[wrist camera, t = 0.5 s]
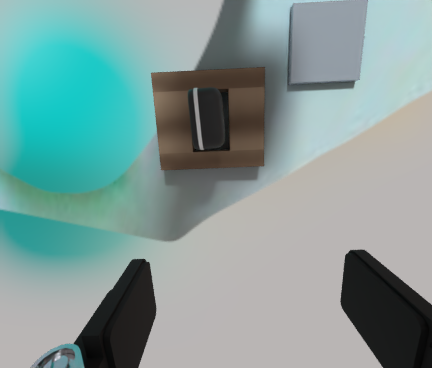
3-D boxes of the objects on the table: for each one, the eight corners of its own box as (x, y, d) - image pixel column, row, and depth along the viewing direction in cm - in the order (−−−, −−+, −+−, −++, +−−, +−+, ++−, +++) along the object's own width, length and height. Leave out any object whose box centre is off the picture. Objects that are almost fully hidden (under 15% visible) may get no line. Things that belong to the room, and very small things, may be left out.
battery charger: (224, 143, 35) (227, 149, 24) (201, 145, 35) (193, 152, 24) (220, 97, 33) (222, 80, 22) (196, 100, 33) (185, 84, 22)
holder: (157, 78, 33) (151, 72, 30) (260, 72, 32) (264, 67, 29) (165, 167, 36) (161, 170, 33) (260, 163, 35) (263, 166, 33)
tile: (290, 7, 30) (293, 3, 29) (363, 3, 30) (368, -1, 29) (288, 84, 33) (290, 83, 32) (355, 81, 32) (359, 79, 31)
